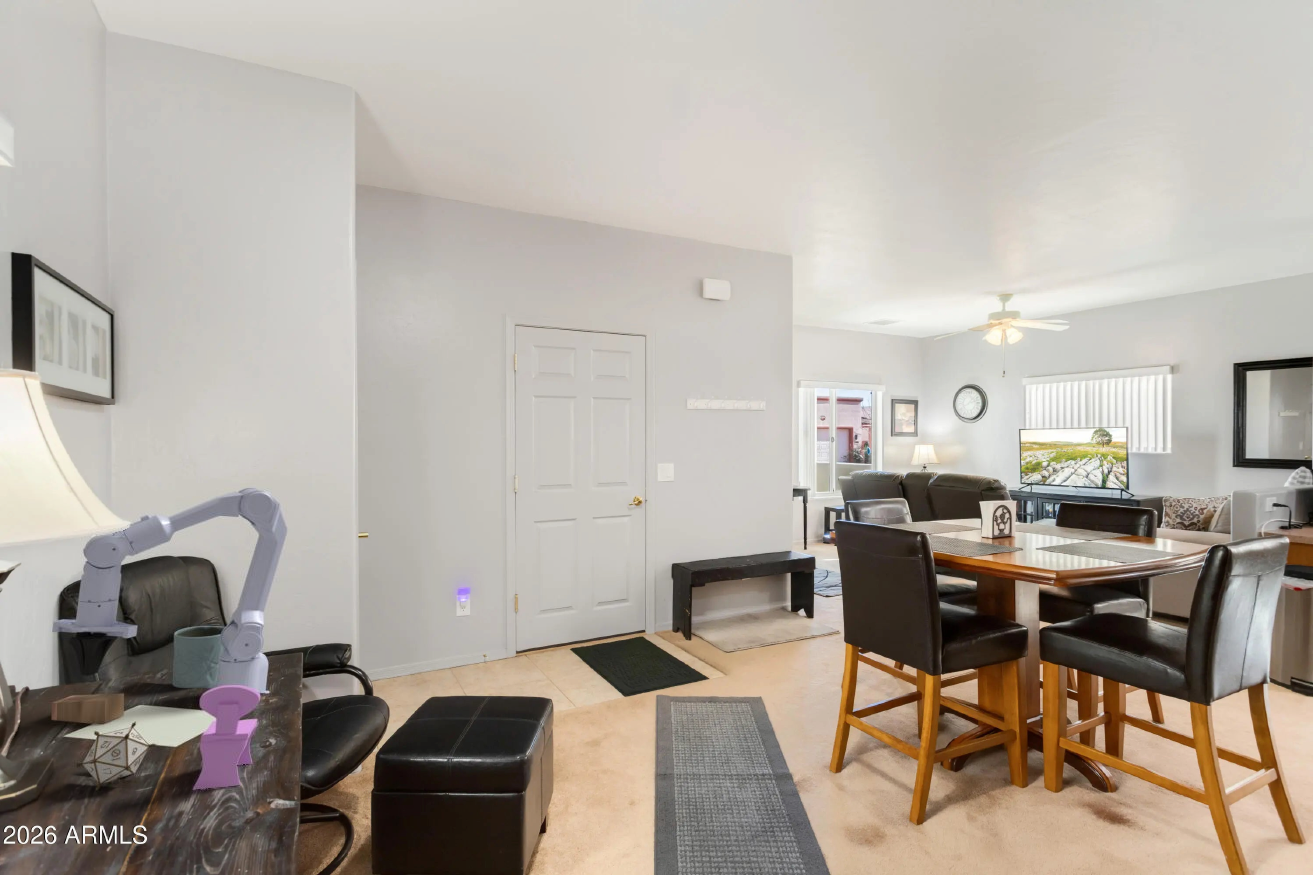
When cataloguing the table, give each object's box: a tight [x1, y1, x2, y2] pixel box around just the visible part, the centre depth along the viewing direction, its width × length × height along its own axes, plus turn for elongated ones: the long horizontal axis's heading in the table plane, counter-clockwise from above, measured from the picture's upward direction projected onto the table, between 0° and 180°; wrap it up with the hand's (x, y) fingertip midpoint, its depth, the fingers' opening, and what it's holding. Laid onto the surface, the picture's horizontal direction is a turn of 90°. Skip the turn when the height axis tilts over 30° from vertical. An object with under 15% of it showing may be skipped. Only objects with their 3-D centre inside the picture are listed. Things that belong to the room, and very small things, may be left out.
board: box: [62, 704, 216, 748], centre depth 120 cm, size 16×20×1 cm
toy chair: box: [192, 685, 262, 791], centre depth 105 cm, size 8×9×15 cm
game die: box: [74, 721, 158, 791], centre depth 101 cm, size 9×8×10 cm
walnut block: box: [51, 692, 125, 725], centre depth 120 cm, size 4×4×10 cm
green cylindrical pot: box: [171, 625, 226, 689], centre depth 143 cm, size 10×10×12 cm
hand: (89, 673), depth 121 cm, fingers closed
